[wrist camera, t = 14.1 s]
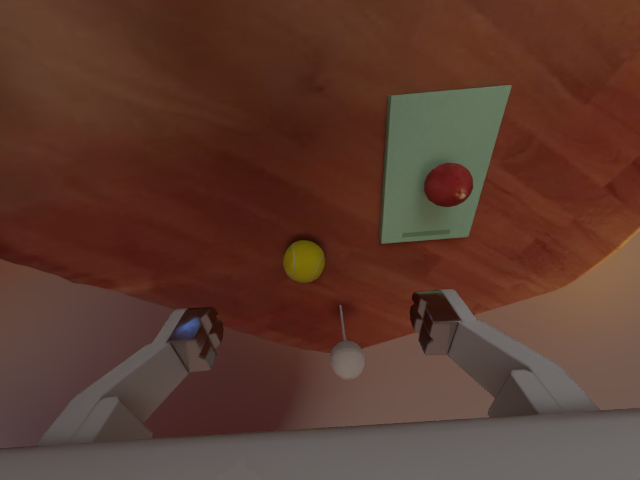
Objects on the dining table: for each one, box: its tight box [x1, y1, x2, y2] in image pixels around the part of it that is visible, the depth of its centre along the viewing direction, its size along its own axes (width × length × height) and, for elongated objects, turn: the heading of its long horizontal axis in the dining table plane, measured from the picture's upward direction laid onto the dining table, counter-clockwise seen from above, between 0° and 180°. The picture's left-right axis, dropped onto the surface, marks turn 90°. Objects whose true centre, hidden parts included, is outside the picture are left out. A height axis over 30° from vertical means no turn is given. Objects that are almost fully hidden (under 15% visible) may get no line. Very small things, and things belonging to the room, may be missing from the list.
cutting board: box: [379, 85, 512, 244], centre depth 36 cm, size 22×15×2 cm
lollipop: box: [330, 305, 365, 379], centre depth 44 cm, size 6×6×15 cm
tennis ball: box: [283, 240, 325, 283], centre depth 40 cm, size 7×7×7 cm
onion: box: [424, 163, 473, 207], centre depth 32 cm, size 6×6×8 cm
